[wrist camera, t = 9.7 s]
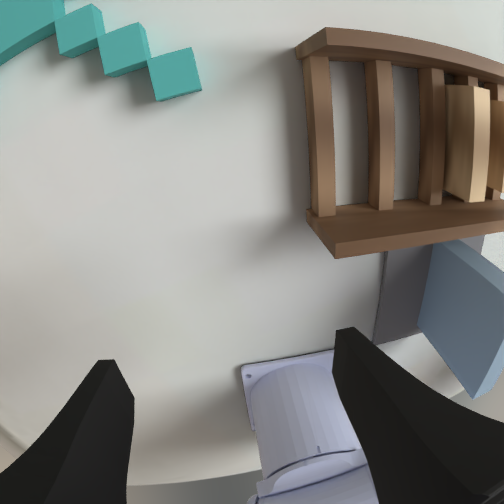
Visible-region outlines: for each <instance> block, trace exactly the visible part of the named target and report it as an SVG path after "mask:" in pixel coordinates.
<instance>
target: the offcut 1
mask: <svg viewBox="0 0 504 504" xmlns="http://www.w3.org/2000/svg"><path fill="white" fill-rule="evenodd" d="M444 87H445V162H444V178H443V190H445V191H447V192H450V193H452V194H454V195H456V196H458V197H459V198H461V199H463V200H465V201H467V202H481V201H484V200H485V192H486V183H487V173H488V161H489V144H490V90H488V89H484V88H480V87H476V86H464V85H444Z"/></svg>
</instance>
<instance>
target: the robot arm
mask: <svg viewBox="0 0 504 504" xmlns="http://www.w3.org/2000/svg"><path fill="white" fill-rule="evenodd" d="M247 374H250V375H247ZM241 375H242V381H243V386H244V392H245V397H246V403H247V408H248V414H249V419H250V424H251V429H252V430H253V431H256V436H257V442H258V448H259V454H260V460H261V466H262V472H263V478H264V480H262V481H259V482H257V483H256V484H257V490H258V494H257V495H253V496H251V497H250V498H249V500H248V502H247V504H504V423H503V422H500V421H497V420H494V419H491V418H488V417H485V416H483V415H480V414H478V413H476V412H474V411H472V410H470V409H467V408H465V407H463V406H461V405H459V404H457V403H455V402H453V401H452V400H450V399H448V398H446V397H445V396H443V395H441V394H440V393H438V392H436V391H434V390H433V389H431V388H430V387H428V386H427V385H425V384H424V383H422V382H421V381H420V380H418V379H417V378H415V377H414V376H413V375H411V374H410V373H409V372H407V371H406V370H405V369H403V368H402V367H401V366H400V365H398V364H397V363H396V362H395V361H393V360H392V359H391V358H390V357H388V356H387V355H386V354H385V353H384V352H383V351H381V350H380V349H379V348H378V347H377V346H376V345H374V344H373V343H372V342H371V341H370V340H369V339H368V338H366V337H365V336H364V335H363V334H362V333H361V332H359V331H358V330H357V329H356V328H355V327H350V328H345V329H341V330H336V338H335V347H334V349H333V350H328V351H324V352H319V353H314V354H308V355H303V356H298V357H292V358H287V359H281V360H275V361H268V362H262V363H255V364H249V365H244V366H242V368H241ZM134 399H135V398H134V396H133V394H132V392H131V391H130V389H129V387H128V385H127V383H126V381H125V379H124V378H123V376H122V374H121V372H120V370H119V368H118V366H117V364H116V362H115V360H114V359H112V360H98V361H97V362H96V364H95V365H94V366H93V368H92V369H91V370H90V372H89V373H88V374H87V376H86V377H85V379H84V380H83V381H82V383H81V384H80V385H79V387H78V388H77V390H76V391H75V392H74V394H73V395H72V396H71V398H70V399H69V400H68V402H67V403H66V405H65V406H64V407H63V409H62V410H61V411H60V412H59V414H58V415H57V416H56V417H55V419H54V420H53V421H52V422H51V424H50V425H49V426H48V427H47V429H46V430H45V431H44V432H43V433H42V434H41V436H40V437H39V438H38V439H37V440H36V441H35V442H34V443H33V444H32V445H31V446H30V447H29V448H28V449H27V450H26V451H25V452H24V453H23V454H22V455H21V456H20V457H19V458H18V459H17V460H15V462H13V463H12V464H11V465H10V466H9V467H8V468H7V469H5V470H4V471H3V472H1V473H0V504H126V503H127V502H126V484H127V472H128V464H129V457H130V449H131V442H132V435H133V428H134ZM359 442H360V443H359ZM360 445H361V446H360ZM361 447H362V448H361Z"/></svg>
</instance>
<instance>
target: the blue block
mask: <svg viewBox="0 0 504 504" xmlns="http://www.w3.org/2000/svg"><path fill="white" fill-rule="evenodd" d="M417 326H418V327H419V329H420V330H421V331H422V332H423V334H424V335H425V336H426V337H427V339H428V340H429V341H430V343H431V344H432V345H433V346H434V348H435V349H436V350H437V352H438V353H439V354H440V356H441V357H442V358H443V360H444V361H445V362H446V364H447V365H448V366H449V368H450V369H451V370H452V372H453V373H454V374H455V376H456V377H457V379H458V380H459V381H460V383H461V384H462V386H463V387H464V388H465V390H466V391H467V393H468V394H469V395H470V397H471V398H472V399H475V398H477V397H479V396H481V395H483V394H485V393H486V392H488V391H490V390H491V389H492V388H493V386H494V384H495V383H496V381H497V379H498V377H499V375H500V374H501V372H502V370H503V368H504V272H503V271H502V270H500V269H499V268H498V267H496V266H495V265H494V264H492V263H491V262H490V261H489V260H487V259H486V258H484V257H483V256H482V255H480V254H479V253H478V252H476V251H475V250H474V249H472V248H471V247H469V246H468V245H466V244H465V243H464V242H462V241H461V240H459V239H457V240H451V241H445V242H439V243H433V249H432V255H431V261H430V267H429V272H428V277H427V282H426V287H425V292H424V297H423V301H422V305H421V310H420V314H419V318H418V322H417Z"/></svg>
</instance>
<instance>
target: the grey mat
mask: <svg viewBox="0 0 504 504" xmlns="http://www.w3.org/2000/svg"><path fill="white" fill-rule="evenodd" d="M484 236H485V235H480V236H474V237H469V238H463V239H459V240H461V241H462V242H464V243H465V244H466V245H468V246H469V247H471V248H472V249H474V250H475V251H476V252H478V253H479V254H480V255H481V251H482V246H483V241H484ZM432 249H433V244H427V245H421V246H415V247H409V248H403V249H397V250H390V251H385V260H384V269H383V277H382V285H381V292H380V299H379V306H378V313H377V319H376V325H375V331H374V336H373V342H372V343H373V344H374V345H378V344H382V343H386V342H390V341H393V340H397V339H401V338H404V337H408V336H411V335H415V334H418V333H421V332H422V331H421V330H420V329H419V327H418V326H417V322H418V318H419V314H420V310H421V305H422V301H423V297H424V292H425V287H426V282H427V277H428V272H429V267H430V261H431V255H432Z"/></svg>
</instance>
